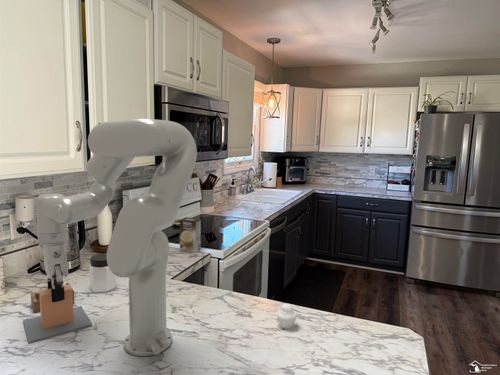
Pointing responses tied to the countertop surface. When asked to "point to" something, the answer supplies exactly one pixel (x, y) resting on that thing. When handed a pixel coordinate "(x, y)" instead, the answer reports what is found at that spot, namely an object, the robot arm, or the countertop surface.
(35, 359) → the countertop surface
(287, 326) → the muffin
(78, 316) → the mat
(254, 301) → the countertop surface
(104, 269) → the jar
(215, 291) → the countertop surface
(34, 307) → the dispenser
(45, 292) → the orange block
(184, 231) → the coffee box
